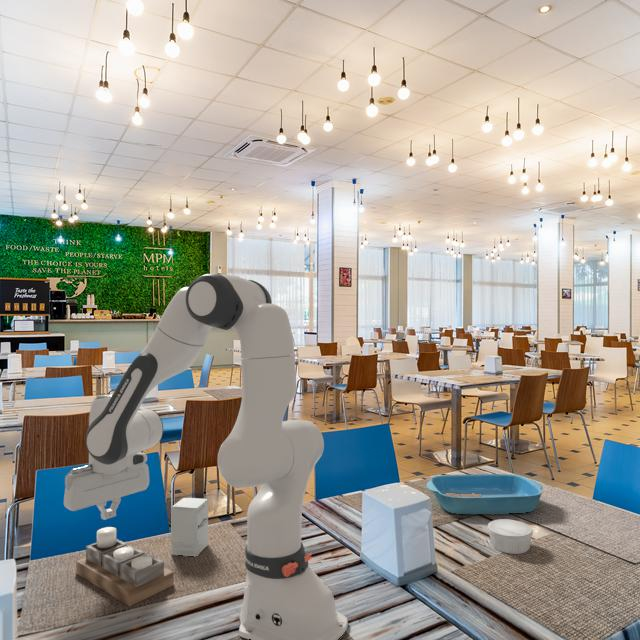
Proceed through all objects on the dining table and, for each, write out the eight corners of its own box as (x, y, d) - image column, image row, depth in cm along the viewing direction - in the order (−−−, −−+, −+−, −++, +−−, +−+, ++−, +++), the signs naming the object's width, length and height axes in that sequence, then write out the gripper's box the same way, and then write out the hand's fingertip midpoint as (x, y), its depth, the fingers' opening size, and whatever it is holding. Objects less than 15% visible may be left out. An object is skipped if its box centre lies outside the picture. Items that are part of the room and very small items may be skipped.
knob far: (119, 543, 125) (119, 529, 125) (102, 549, 121) (102, 536, 121) (110, 538, 127) (110, 525, 127) (93, 544, 124) (93, 531, 124)
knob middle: (137, 564, 120) (137, 550, 120) (120, 571, 117) (120, 557, 117) (127, 558, 123) (127, 545, 123) (109, 565, 119) (109, 552, 119)
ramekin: (488, 553, 132) (488, 533, 132) (487, 535, 143) (487, 516, 143) (535, 559, 129) (534, 538, 129) (530, 540, 139) (530, 521, 139)
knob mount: (173, 585, 117) (173, 558, 117) (129, 606, 108) (129, 578, 108) (118, 556, 131) (118, 533, 131) (76, 573, 122) (76, 548, 122)
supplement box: (197, 557, 130) (196, 508, 130) (170, 555, 132) (169, 506, 132) (209, 545, 137) (208, 498, 137) (183, 543, 139) (183, 496, 139)
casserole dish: (435, 519, 154) (435, 496, 154) (419, 494, 177) (419, 473, 177) (556, 518, 155) (556, 494, 155) (525, 493, 177) (525, 472, 177)
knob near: (156, 573, 115) (156, 559, 115) (138, 581, 112) (138, 567, 112) (145, 568, 118) (144, 554, 118) (127, 575, 115) (127, 561, 115)
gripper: (72, 473, 113) (71, 535, 113) (152, 454, 129) (152, 508, 129) (58, 467, 117) (58, 528, 117) (138, 449, 133) (138, 502, 133)
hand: (108, 517), depth 123 cm, fingers closed
